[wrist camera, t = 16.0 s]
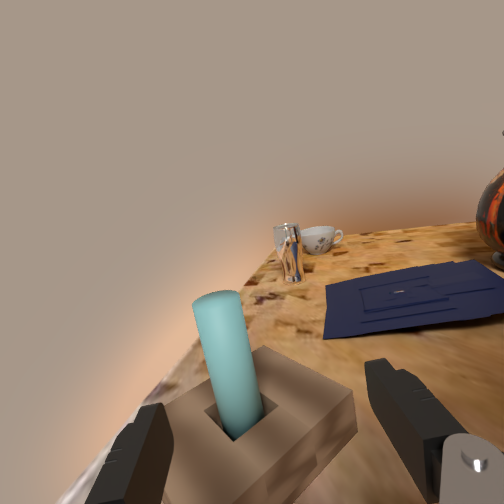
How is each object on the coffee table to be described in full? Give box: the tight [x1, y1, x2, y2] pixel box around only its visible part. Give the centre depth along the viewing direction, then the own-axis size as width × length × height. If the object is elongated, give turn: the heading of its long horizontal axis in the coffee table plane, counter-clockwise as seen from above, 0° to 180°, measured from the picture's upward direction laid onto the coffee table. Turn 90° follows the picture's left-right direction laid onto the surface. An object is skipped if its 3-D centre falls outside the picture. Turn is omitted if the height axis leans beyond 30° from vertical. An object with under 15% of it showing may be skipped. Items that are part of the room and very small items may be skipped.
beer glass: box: [273, 223, 306, 285], centre depth 76 cm, size 7×7×15 cm
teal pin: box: [192, 290, 265, 442], centre depth 29 cm, size 4×4×16 cm
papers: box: [323, 260, 504, 339], centre depth 54 cm, size 24×30×4 cm
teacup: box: [300, 226, 343, 255], centre depth 99 cm, size 15×12×8 cm
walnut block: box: [162, 345, 358, 504], centre depth 30 cm, size 18×14×5 cm
